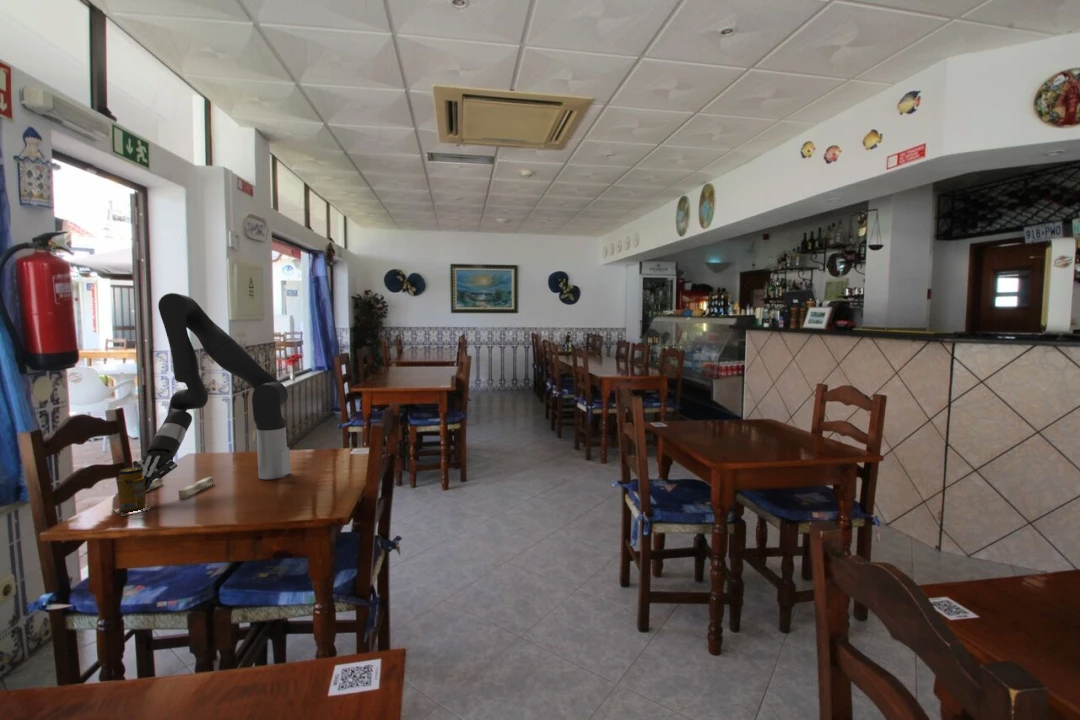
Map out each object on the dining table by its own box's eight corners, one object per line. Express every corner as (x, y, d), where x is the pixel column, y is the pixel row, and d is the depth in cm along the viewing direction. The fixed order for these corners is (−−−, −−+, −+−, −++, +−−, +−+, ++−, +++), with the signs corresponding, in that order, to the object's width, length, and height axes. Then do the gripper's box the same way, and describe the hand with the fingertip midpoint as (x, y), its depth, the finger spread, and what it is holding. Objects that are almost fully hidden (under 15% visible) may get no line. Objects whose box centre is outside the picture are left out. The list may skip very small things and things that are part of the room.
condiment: (143, 503, 155) (141, 464, 154) (153, 509, 150) (150, 469, 149) (113, 510, 149) (110, 470, 148) (122, 517, 144) (119, 475, 143)
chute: (156, 484, 173) (156, 477, 172) (213, 484, 173) (213, 477, 173) (123, 499, 159) (123, 491, 158) (185, 498, 159) (185, 490, 159)
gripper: (140, 434, 162) (110, 484, 150) (182, 434, 162) (156, 484, 150) (153, 446, 167) (126, 496, 156) (194, 446, 167) (170, 496, 156)
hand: (141, 490), depth 153 cm, fingers closed
